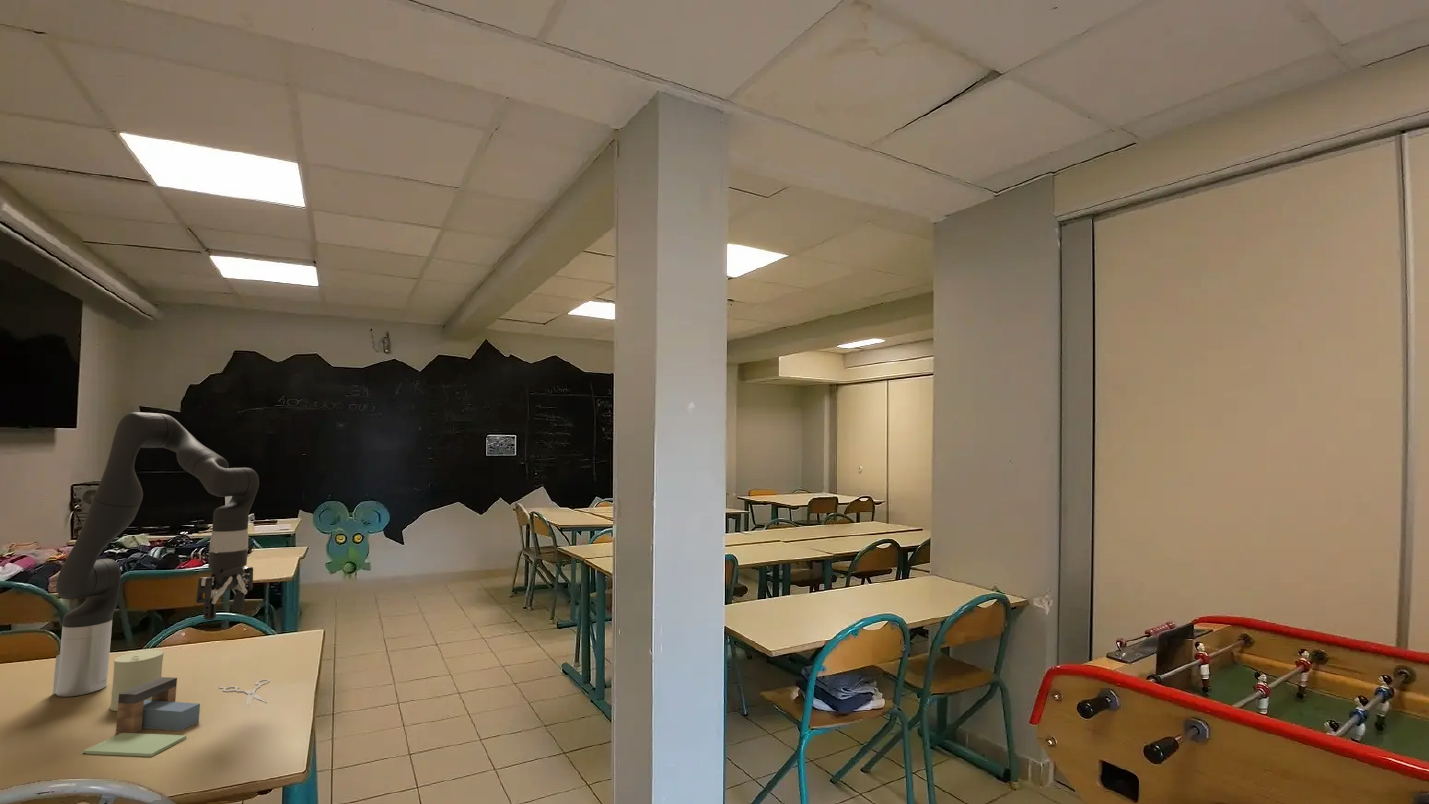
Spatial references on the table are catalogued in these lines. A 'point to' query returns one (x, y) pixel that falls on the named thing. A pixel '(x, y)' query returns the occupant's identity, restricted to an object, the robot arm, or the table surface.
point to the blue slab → (169, 715)
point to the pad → (135, 744)
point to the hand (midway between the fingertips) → (224, 614)
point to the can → (135, 672)
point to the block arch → (142, 702)
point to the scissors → (249, 693)
